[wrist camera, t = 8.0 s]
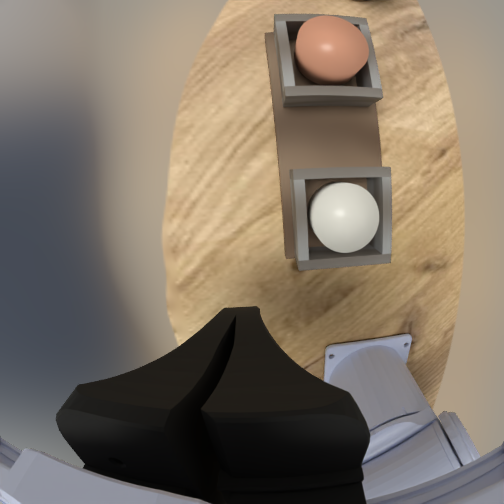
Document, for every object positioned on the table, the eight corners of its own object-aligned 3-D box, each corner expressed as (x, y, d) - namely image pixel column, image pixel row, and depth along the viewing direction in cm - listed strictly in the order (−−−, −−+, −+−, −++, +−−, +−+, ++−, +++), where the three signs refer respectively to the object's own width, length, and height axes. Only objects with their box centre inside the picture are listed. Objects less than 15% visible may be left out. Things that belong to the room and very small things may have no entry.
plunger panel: (377, 247, 20) (398, 263, 16) (285, 253, 20) (288, 273, 17) (357, 41, 16) (374, 18, 12) (264, 39, 16) (263, 13, 12)
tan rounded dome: (361, 87, 14) (374, 76, 12) (297, 86, 15) (302, 73, 12) (351, 34, 13) (361, 18, 11) (289, 32, 14) (292, 14, 11)
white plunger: (366, 240, 18) (378, 250, 16) (308, 244, 18) (314, 255, 16) (365, 180, 17) (378, 182, 15) (305, 183, 17) (310, 184, 15)
